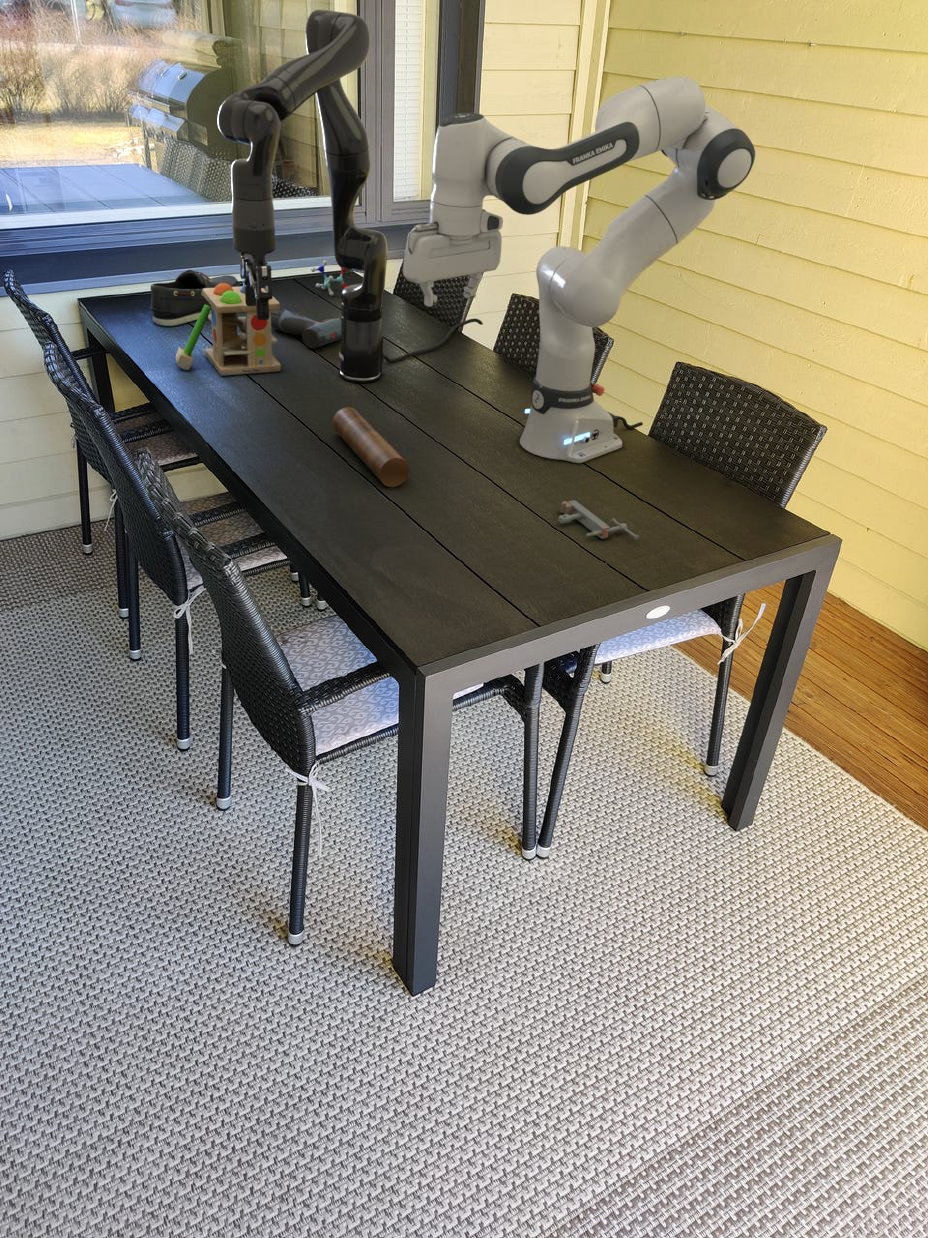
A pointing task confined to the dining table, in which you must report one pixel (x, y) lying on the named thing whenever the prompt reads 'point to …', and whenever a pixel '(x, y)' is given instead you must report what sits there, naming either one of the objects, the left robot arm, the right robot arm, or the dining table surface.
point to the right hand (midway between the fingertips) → (450, 301)
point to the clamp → (582, 515)
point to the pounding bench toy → (233, 334)
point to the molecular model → (330, 279)
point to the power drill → (307, 327)
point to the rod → (371, 447)
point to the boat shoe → (183, 297)
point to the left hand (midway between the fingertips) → (257, 312)
